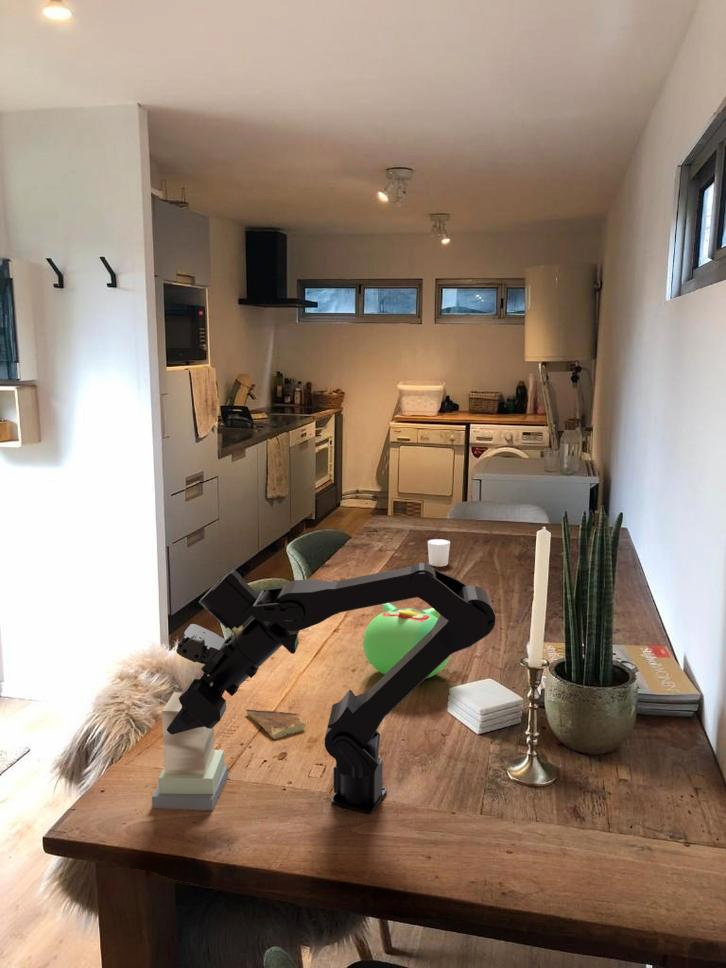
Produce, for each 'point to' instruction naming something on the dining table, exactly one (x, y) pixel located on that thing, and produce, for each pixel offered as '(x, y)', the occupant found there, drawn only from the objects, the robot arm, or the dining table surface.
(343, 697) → the robot arm
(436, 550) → the white short cylinder
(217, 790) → the tower bottom slab
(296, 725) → the shard
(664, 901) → the dining table surface
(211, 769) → the tower top slab
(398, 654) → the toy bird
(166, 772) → the maple column
